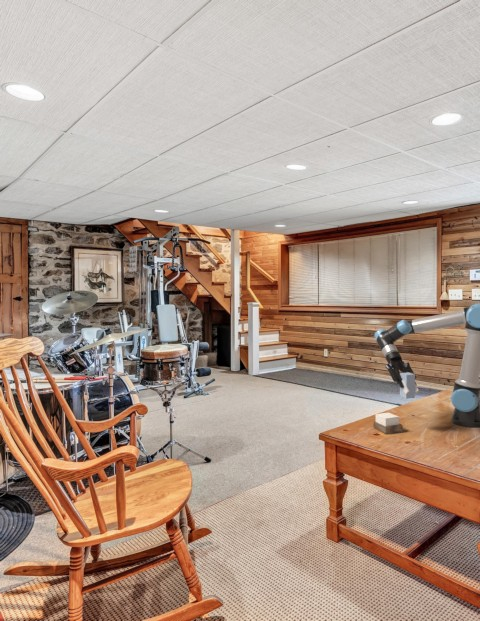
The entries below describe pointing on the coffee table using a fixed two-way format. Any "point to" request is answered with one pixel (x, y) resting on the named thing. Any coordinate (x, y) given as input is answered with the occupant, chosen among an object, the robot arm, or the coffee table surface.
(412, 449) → the coffee table surface
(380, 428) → the walnut tower slab
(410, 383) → the slate-blue pillar
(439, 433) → the coffee table surface
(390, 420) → the cream tower block
